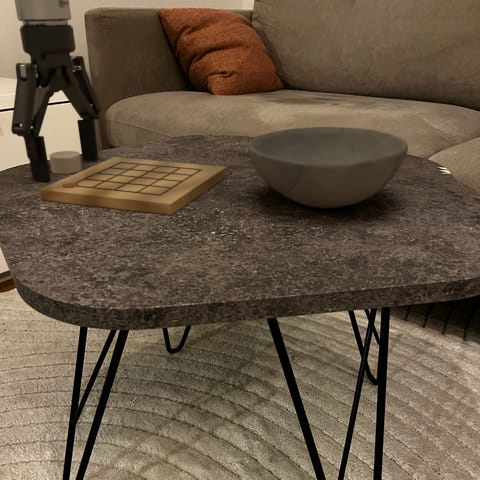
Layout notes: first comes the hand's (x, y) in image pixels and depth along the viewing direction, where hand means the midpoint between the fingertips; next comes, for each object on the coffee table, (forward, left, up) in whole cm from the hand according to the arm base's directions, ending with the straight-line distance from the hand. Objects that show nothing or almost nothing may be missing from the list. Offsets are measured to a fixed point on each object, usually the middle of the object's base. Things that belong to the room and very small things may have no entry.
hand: (67, 169), depth 96 cm
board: (+16, -5, 0) cm, 17 cm away
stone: (0, 0, 0) cm, 0 cm away
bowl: (+43, -2, 0) cm, 43 cm away
